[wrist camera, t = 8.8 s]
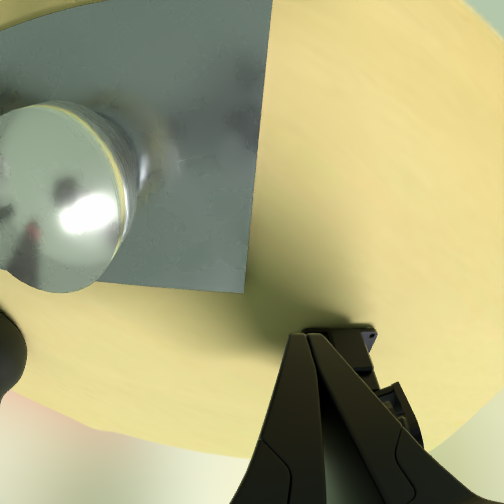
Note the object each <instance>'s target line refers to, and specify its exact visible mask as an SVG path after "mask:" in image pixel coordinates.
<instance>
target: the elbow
mask: <svg viewBox="0 0 504 504" xmlns="http://www.w3.org/2000/svg"><path fill="white" fill-rule="evenodd" d="M136 201H137V190H136V180H135V174H134V169H133V166H132V163H131V160H130V157H129V155H128V153H127V150H126V148H125V146H124V144H123V143H122V141H121V139H120V138H119V136H118V135H117V133H116V132H115V131H114V129H113V128H112V127H111V126H110V125H109V124H108V123H107V122H106V121H105V120H104V119H103V118H102V117H101V116H99V115H98V114H97V113H95V112H94V111H93V110H91V109H89V108H87V107H85V106H83V105H80V104H77V103H74V102H70V101H64V100H53V101H48V102H43V103H38V104H34V105H31V106H27V107H23V108H19V109H16V110H12V111H10V112H8V113H5V114H3V115H2V116H0V264H1V265H2V266H3V267H4V268H5V269H6V270H7V271H8V272H9V273H11V274H12V275H13V276H14V277H16V278H17V279H19V280H20V281H22V282H24V283H26V284H28V285H29V286H32V287H34V288H37V289H39V290H43V291H47V292H54V293H68V292H74V291H77V290H80V289H83V288H85V287H87V286H89V285H91V284H92V283H93V282H94V281H96V280H97V279H98V278H99V277H100V276H101V275H102V274H103V273H104V271H105V270H106V268H107V267H108V265H109V263H110V262H111V260H112V259H113V257H114V255H115V254H116V252H117V251H118V249H119V247H120V246H121V244H122V243H123V241H124V240H125V238H126V236H127V234H128V232H129V230H130V228H131V226H132V222H133V219H134V216H135V210H136Z"/></svg>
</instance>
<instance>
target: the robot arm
mask: <svg viewBox="0 0 504 504" xmlns="http://www.w3.org/2000/svg"><path fill="white" fill-rule="evenodd" d="M376 337H377V332H376V329H374V328H350V329H332V328H306V329H304V330H302V332H301V333H291V334H289V337H288V341H287V345H286V348H285V352H284V355H283V359H282V362H281V366H280V369H279V373H278V376H277V380H276V383H275V386H274V390H273V393H272V396H271V400H270V403H269V406H268V410H267V413H266V416H265V419H264V422H263V426H262V429H261V432H260V435H259V438H258V441H257V444H256V447H255V450H254V453H253V455H252V458H251V461H250V463H249V466H248V468H247V471H246V473H245V476H244V477H243V479H242V481H241V483H240V485H239V487H238V489H237V491H236V493H235V495H234V496H233V498H232V500H231V502H230V503H229V504H504V503H500V502H495V501H491V500H487V499H484V498H482V497H480V496H478V495H476V494H475V493H473V492H471V491H470V490H469V489H468V488H466V487H465V486H464V485H463V484H462V483H461V482H459V481H458V480H457V479H456V478H455V477H454V476H453V475H452V474H450V473H449V472H448V471H447V470H446V469H445V468H444V467H443V466H441V465H440V464H439V463H438V462H437V461H436V460H435V459H434V458H433V457H432V456H431V455H430V454H429V453H427V452H426V451H425V450H424V444H423V439H422V435H421V431H420V428H419V425H418V422H417V420H416V417H415V415H414V413H413V411H412V409H411V406H410V404H409V402H408V400H407V398H406V396H405V394H404V392H403V390H402V388H401V386H400V384H399V382H396V383H393V384H391V386H388V387H386V388H383V389H380V387H379V384H378V381H377V378H376V375H375V372H374V366H373V363H372V361H371V358H370V355H369V352H370V350H371V348H372V346H373V344H374V342H375V339H376Z"/></svg>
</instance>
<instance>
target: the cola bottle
mask: <svg viewBox="0 0 504 504" xmlns="http://www.w3.org/2000/svg"><path fill="white" fill-rule="evenodd" d="M26 360H27V347H26V343H25V340H24V338H23V336H22V335H21V333H20V332H19V330H18V329H17V327H16V326H15V325H14V324H13V323H12V322H11V321H10V320H9V319H8V318H7V317H5V316H4V315H3V314H1V313H0V403H1V399H2V397H3V396H4V394H5V393H6V392H7V391H9V390H10V389H11V388H12V387H13V386H14V385H15V384H16V383H17V382H18V381H19V379H20V378H21V376H22V374H23V371H24V368H25V365H26Z"/></svg>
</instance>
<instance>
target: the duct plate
mask: <svg viewBox="0 0 504 504" xmlns="http://www.w3.org/2000/svg"><path fill="white" fill-rule="evenodd" d="M272 1H273V0H107V1H102V2H97V3H92V4H87V5H83V6H78V7H74V8H70V9H66V10H62V11H58V12H55V13H51V14H48V15H45V16H41V17H38V18H35V19H32V20H29V21H26V22H23V23H21V24H18V25H15V26H12V27H10V28H7V29H5V30H2V31H0V116H2V115H3V114H5V113H8V112H10V111H12V110H16V109H19V108H23V107H27V106H31V105H34V104H38V103H43V102H48V101H53V100H64V101H70V102H74V103H77V104H80V105H83V106H85V107H87V108H89V109H91V110H93V111H94V112H95V113H97V114H98V115H99V116H101V117H102V118H103V119H104V120H105V121H106V122H107V123H108V124H109V125H110V126H111V127H112V128H113V129H114V131H115V132H116V133H117V135H118V136H119V138H120V139H121V141H122V143H123V144H124V146H125V148H126V150H127V153H128V155H129V157H130V160H131V163H132V166H133V169H134V174H135V180H136V190H137V201H136V210H135V216H134V219H133V222H132V226H131V228H130V230H129V232H128V234H127V236H126V238H125V240H124V241H123V243H122V244H121V246H120V247H119V249H118V251H117V252H116V254H115V255H114V257H113V259H112V260H111V262H110V263H109V265H108V267H107V268H106V270H105V271H104V273H103V274H102V275H101V276H100V277H99V278H98V279H97V280H96V281H99V282H109V283H119V284H129V285H140V286H151V287H163V288H175V289H188V290H201V291H215V292H231V293H244V285H245V275H246V264H247V253H248V243H249V232H250V222H251V211H252V201H253V191H254V180H255V170H256V160H257V150H258V139H259V129H260V119H261V109H262V99H263V89H264V79H265V69H266V59H267V49H268V39H269V30H270V20H271V10H272ZM0 268H1V269H3V270H6V269H5V268H4V267H3V266H2V265H1V264H0Z"/></svg>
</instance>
